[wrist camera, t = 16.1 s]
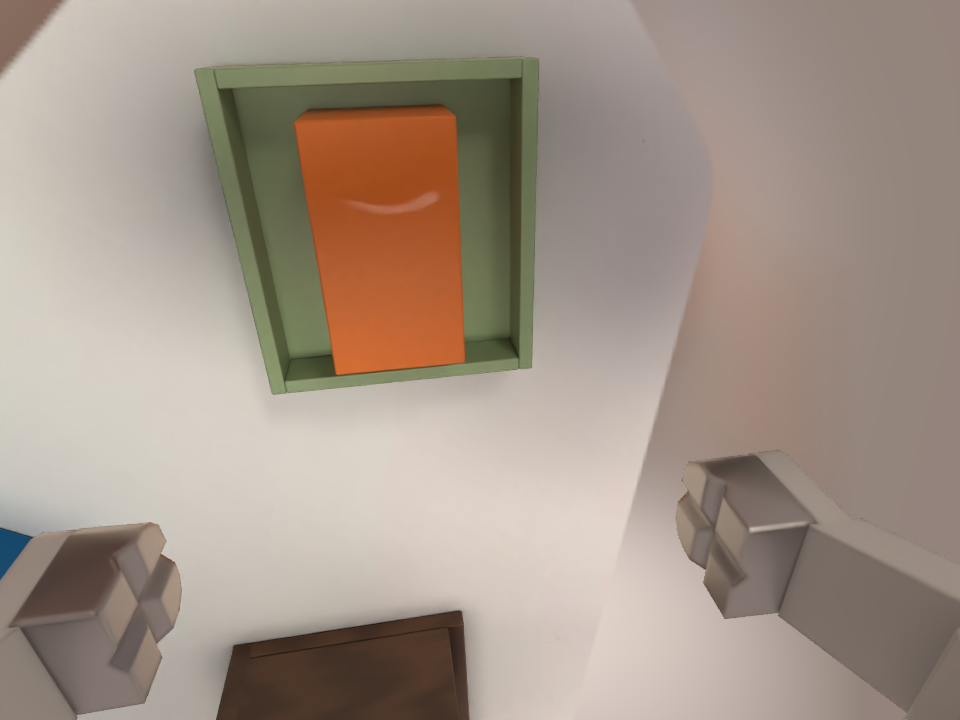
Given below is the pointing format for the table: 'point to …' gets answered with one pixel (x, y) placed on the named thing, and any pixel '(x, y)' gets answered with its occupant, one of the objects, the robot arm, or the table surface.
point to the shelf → (353, 674)
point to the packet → (386, 233)
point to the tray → (285, 218)
